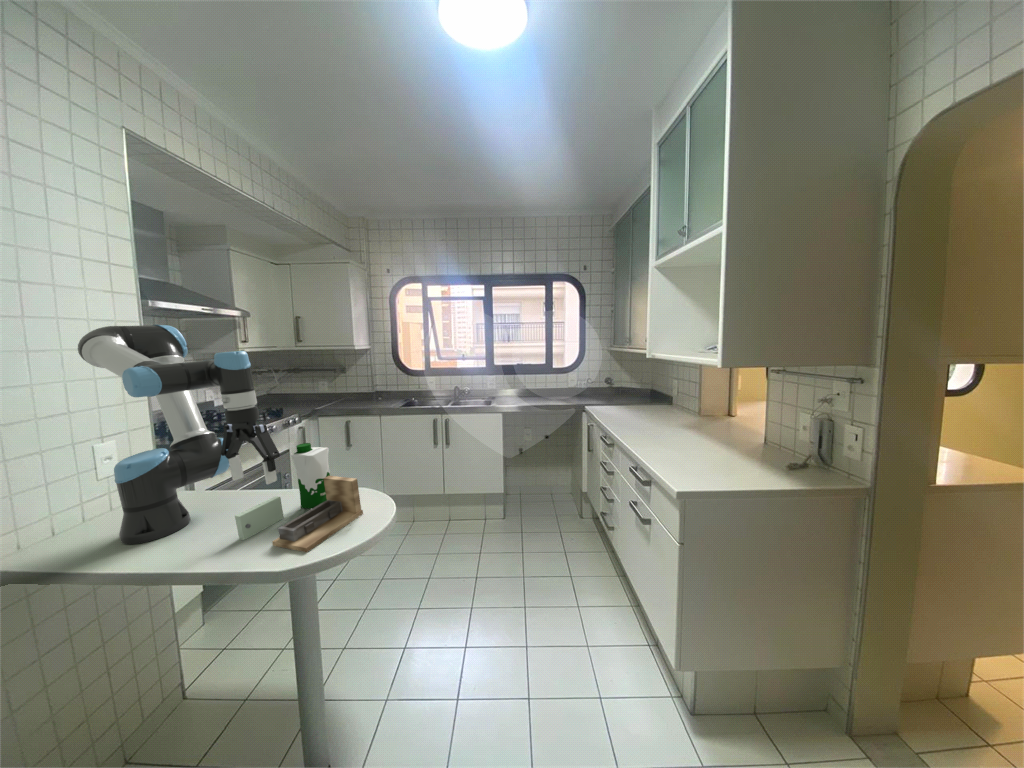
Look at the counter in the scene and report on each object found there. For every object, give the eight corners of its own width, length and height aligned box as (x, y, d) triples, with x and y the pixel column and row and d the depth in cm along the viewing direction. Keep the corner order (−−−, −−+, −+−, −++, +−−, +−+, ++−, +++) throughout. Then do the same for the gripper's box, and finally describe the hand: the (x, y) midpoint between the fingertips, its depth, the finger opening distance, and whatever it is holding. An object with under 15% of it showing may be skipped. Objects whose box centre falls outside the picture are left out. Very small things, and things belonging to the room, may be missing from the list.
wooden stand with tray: (273, 545, 98) (266, 506, 96) (332, 509, 117) (327, 475, 115) (307, 552, 94) (300, 511, 92) (363, 513, 112) (358, 478, 111)
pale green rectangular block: (239, 539, 102) (234, 515, 101) (279, 517, 114) (275, 496, 113) (246, 540, 102) (241, 516, 100) (285, 518, 113) (281, 496, 112)
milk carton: (315, 497, 126) (307, 440, 123) (339, 497, 124) (331, 440, 121) (296, 509, 118) (286, 449, 115) (321, 510, 116) (311, 449, 113)
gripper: (196, 410, 103) (211, 482, 106) (259, 410, 94) (273, 489, 97) (225, 404, 110) (238, 472, 113) (286, 404, 101) (298, 478, 104)
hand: (254, 480), depth 105 cm, fingers open, 13 cm apart
